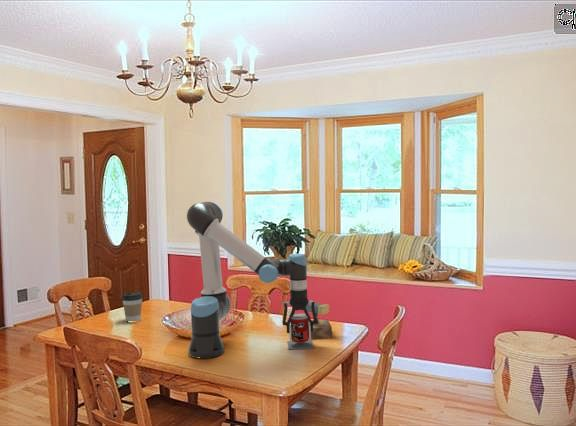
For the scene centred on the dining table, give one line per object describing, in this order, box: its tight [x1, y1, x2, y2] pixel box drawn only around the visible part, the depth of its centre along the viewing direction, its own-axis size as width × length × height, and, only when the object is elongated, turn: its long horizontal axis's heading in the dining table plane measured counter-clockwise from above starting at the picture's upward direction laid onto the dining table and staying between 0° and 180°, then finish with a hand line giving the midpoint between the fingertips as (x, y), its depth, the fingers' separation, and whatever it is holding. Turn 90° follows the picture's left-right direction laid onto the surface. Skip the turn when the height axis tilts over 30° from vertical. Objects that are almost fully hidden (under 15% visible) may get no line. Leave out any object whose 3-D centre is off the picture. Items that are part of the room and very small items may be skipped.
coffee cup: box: [121, 291, 144, 322], centre depth 272 cm, size 11×11×15 cm
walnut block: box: [309, 319, 333, 340], centre depth 239 cm, size 13×13×5 cm
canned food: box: [290, 313, 309, 343], centre depth 223 cm, size 8×8×11 cm
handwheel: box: [302, 301, 330, 323], centre depth 239 cm, size 12×5×9 cm, turn 46°
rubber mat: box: [286, 339, 315, 351], centre depth 224 cm, size 11×11×1 cm
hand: (300, 339), depth 224 cm, fingers closed on canned food, 8 cm apart
